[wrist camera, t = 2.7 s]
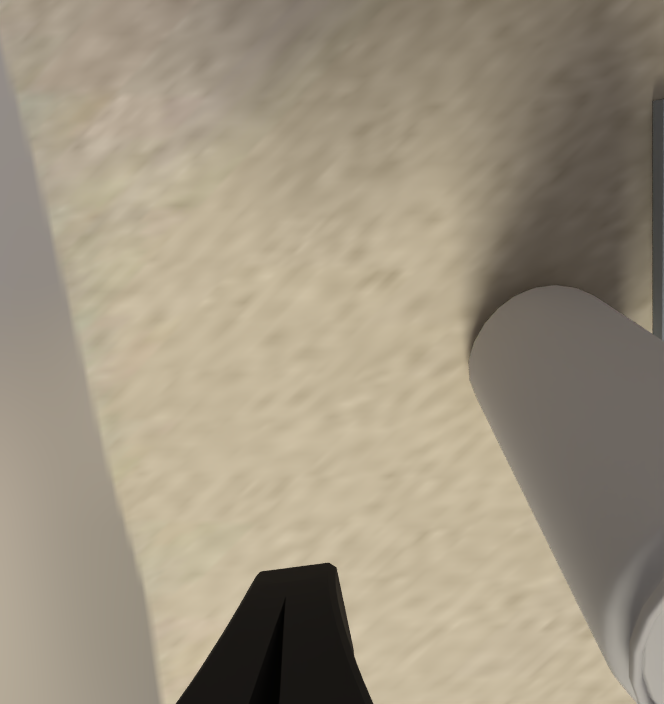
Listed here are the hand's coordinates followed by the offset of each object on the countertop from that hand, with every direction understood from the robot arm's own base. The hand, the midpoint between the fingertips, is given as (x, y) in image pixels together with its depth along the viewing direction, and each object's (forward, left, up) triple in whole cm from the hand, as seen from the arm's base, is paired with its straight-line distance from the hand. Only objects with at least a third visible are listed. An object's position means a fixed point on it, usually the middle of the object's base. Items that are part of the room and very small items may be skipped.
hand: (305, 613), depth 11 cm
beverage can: (-7, 0, -10) cm, 12 cm away
